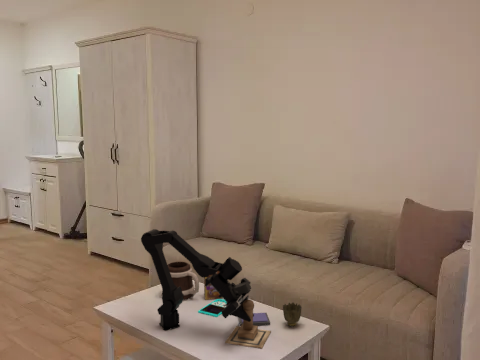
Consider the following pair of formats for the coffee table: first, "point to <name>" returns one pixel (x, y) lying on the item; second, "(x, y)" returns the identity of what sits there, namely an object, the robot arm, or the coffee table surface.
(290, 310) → the cup
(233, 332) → the kraft card
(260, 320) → the ink pad
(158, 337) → the coffee table surface
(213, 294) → the candy box
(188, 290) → the mug
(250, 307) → the stamp
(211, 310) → the handheld game console
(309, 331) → the coffee table surface
